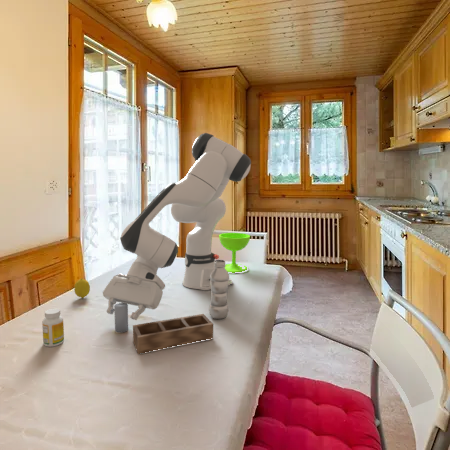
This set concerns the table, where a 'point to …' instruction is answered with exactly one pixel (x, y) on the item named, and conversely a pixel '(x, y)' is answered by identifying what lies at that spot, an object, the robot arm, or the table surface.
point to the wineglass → (234, 248)
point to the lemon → (82, 288)
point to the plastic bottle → (219, 290)
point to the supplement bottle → (53, 328)
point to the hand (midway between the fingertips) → (121, 316)
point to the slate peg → (121, 317)
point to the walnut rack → (171, 332)
